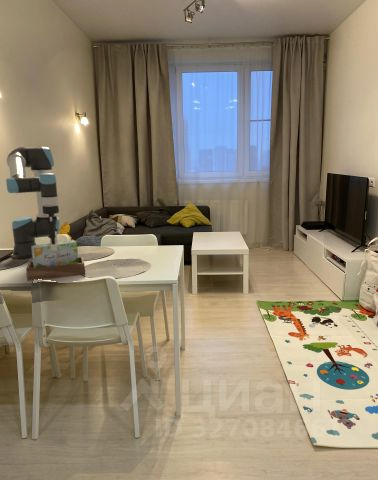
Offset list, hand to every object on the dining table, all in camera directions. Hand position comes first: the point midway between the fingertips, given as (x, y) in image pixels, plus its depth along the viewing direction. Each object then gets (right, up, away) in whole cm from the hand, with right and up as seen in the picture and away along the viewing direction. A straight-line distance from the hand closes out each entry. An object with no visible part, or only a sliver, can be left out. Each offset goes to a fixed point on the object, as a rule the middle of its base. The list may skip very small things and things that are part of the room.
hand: (54, 247), depth 185 cm
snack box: (+1, -13, +3) cm, 13 cm away
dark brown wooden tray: (0, -14, +3) cm, 14 cm away
